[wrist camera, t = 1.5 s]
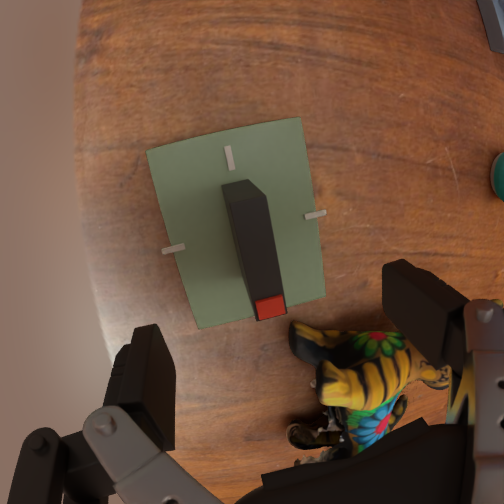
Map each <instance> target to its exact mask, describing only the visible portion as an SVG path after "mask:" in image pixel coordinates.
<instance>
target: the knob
mask: <svg viewBox="0 0 504 504" xmlns="http://www.w3.org/2000/svg"><path fill="white" fill-rule="evenodd" d="M221 187H222V191H223V196H224V200H225V205H226V209H227V213H228V218H229V222H230V226H231V231H232V235H233V239H234V244H235V248H236V252H237V256H238V261H239V265H240V269H241V273H242V278H243V281H244V284H245V287H246V290H247V294H248V297H249V300H250V303H251V306H252V309H253V312H254V315H255V319H256V321H261V320H265V319H269V318H272V317H276V316H280V315H284V314H287V313H288V312H287V306H286V300H285V295H284V289H283V283H282V277H281V272H280V266H279V261H278V255H277V250H276V244H275V239H274V233H273V228H272V222H271V217H270V212H269V206H268V201H267V196H266V195H265V194H264V193H263V192H262V191H261V190H260V189H259V188H258V187H257V186H255V185H254V184H253V183H252V182H251V181H250V180H249V179H246V180H241V181H237V182H233V183H228V184H224V185H221Z"/></svg>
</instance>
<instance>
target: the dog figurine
mask: <svg viewBox="0 0 504 504" xmlns="http://www.w3.org/2000/svg"><path fill="white" fill-rule="evenodd" d="M491 301H493V302H495V303H497V304H498V305H500V307H501V308H503V302H502V301H501V300H499V299H492V300H491ZM289 345H290V349H291V351H292V353H293V354H294V355H295V356H296V357H298V358H299V359H301V360H303V361H305V362H307V363H309V364H311V365H313V366H314V367H315V368H316V379H314V380H312V381H311V382H310V386H311V387H312V388H315V390H316V394H317V396H318V398H319V401H320V403H322V404H324V405H327V406H328V411H326V412H325V413H324V412H322V413H323V414H325V415H324V416H323V417H321V418H320V419H318V420H317V421H315V422H314V423H312V424H310V425H309V424H305V423H303V422H302V421H300V420H299V419H295V420H292V421H291V422H290V424H289V425H288V427H287V430H286V437H287V440H288V441H289V443H290V444H291V445H292V446H294V447H295V448H298V449H302V450H308V449H309V450H310V449H316V448H317V449H318V448H321V447H325V446H327V447H329V446H331V447H332V448H330V449H328V450H327V451H325V452H324V451H322V452H321V454H320V457H319V458H314V457H312V456H309V457H307V458H306V457H305V455H303V458H302V460H301V461H300V460H298V459H297V460H296V461H295V462H294V466H297V465H301V464H305V463H316V462H325V461H334V460H342V459H348V458H351V457H353V456H355V455H357V454H358V453H360V452H361V451H363V450H364V449H366V448H367V447H369V446H370V445H372V444H373V443H374V442H376V441H377V440H379V439H380V438H381V437H383V436H384V435H386V434H387V433H389V432H391V431H392V429H393V427H394V426H395V425H396V424H397V423H398V422H399V420H400V419H401V418H402V416H403V414H404V413H405V411H406V408H407V406H408V397H407V396H406V395H401V396H400V397H399V399H398V400H397V401H396V399H397V397H398V395H399V393H400V392H401V391H402V389H403V388H404V387H405V386H406V385H407V384H408V383H410V382H412V381H413V380H420V381H423V382H424V383H425V384H426V385H427V386H429V387H431V388H433V389H436V390H443V389H446V388H448V387H449V373H450V370H451V367H450V366H449V365H447V366H445V367H443V368H441V369H439V370H437V371H436V370H435V369H434V368H433V366H432V365H431V364H430V363H429V362H428V361H427V360H426V359H425V358H424V356H423V355H422V354H421V353H420V352H419V351H418V350H417V349H416V348H415V346H414V345H413V344H412V343H411V342H410V341H409V340H408V339H407V338H406V337H405V336H404V335H403V333H402V332H401V331H400V330H399V331H397V332H383V331H365V332H360V331H344V332H340V331H337V330H315V329H313V328H310V327H309V326H307V325H305V324H303V323H301V322H298V321H295V320H292V322H291V324H290V328H289ZM395 401H396V403H395ZM394 403H395V405H394Z"/></svg>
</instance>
